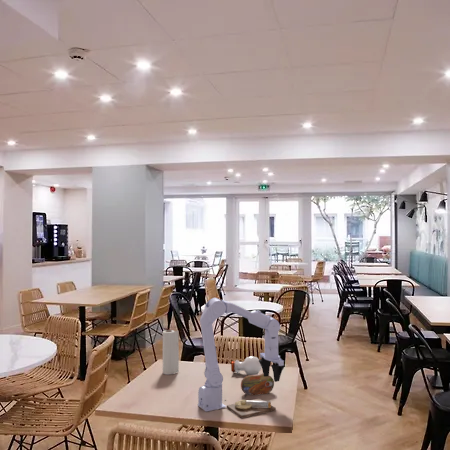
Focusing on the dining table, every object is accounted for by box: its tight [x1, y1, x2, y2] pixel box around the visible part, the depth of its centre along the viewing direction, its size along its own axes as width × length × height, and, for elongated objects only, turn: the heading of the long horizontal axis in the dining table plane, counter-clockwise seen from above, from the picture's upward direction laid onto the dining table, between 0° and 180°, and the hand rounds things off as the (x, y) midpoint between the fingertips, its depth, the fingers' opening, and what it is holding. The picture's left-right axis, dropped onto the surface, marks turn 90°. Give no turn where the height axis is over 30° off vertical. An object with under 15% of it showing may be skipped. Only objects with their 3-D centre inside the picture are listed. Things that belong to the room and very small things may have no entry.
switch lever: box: [234, 399, 272, 410], centre depth 189 cm, size 14×7×2 cm, turn 84°
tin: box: [240, 373, 275, 397], centre depth 208 cm, size 15×3×8 cm, turn 105°
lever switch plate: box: [226, 398, 277, 419], centre depth 190 cm, size 16×12×1 cm
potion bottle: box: [230, 355, 262, 376], centre depth 236 cm, size 9×10×15 cm
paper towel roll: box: [162, 329, 180, 375], centre depth 238 cm, size 7×6×21 cm
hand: (271, 378), depth 198 cm, fingers open, 7 cm apart
